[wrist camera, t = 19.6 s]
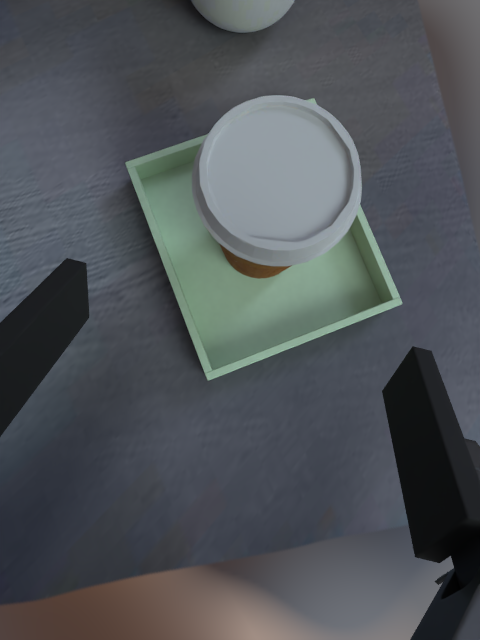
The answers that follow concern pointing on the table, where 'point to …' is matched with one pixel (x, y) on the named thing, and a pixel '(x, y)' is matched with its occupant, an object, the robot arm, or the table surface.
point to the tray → (246, 292)
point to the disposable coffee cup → (276, 184)
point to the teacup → (242, 13)
